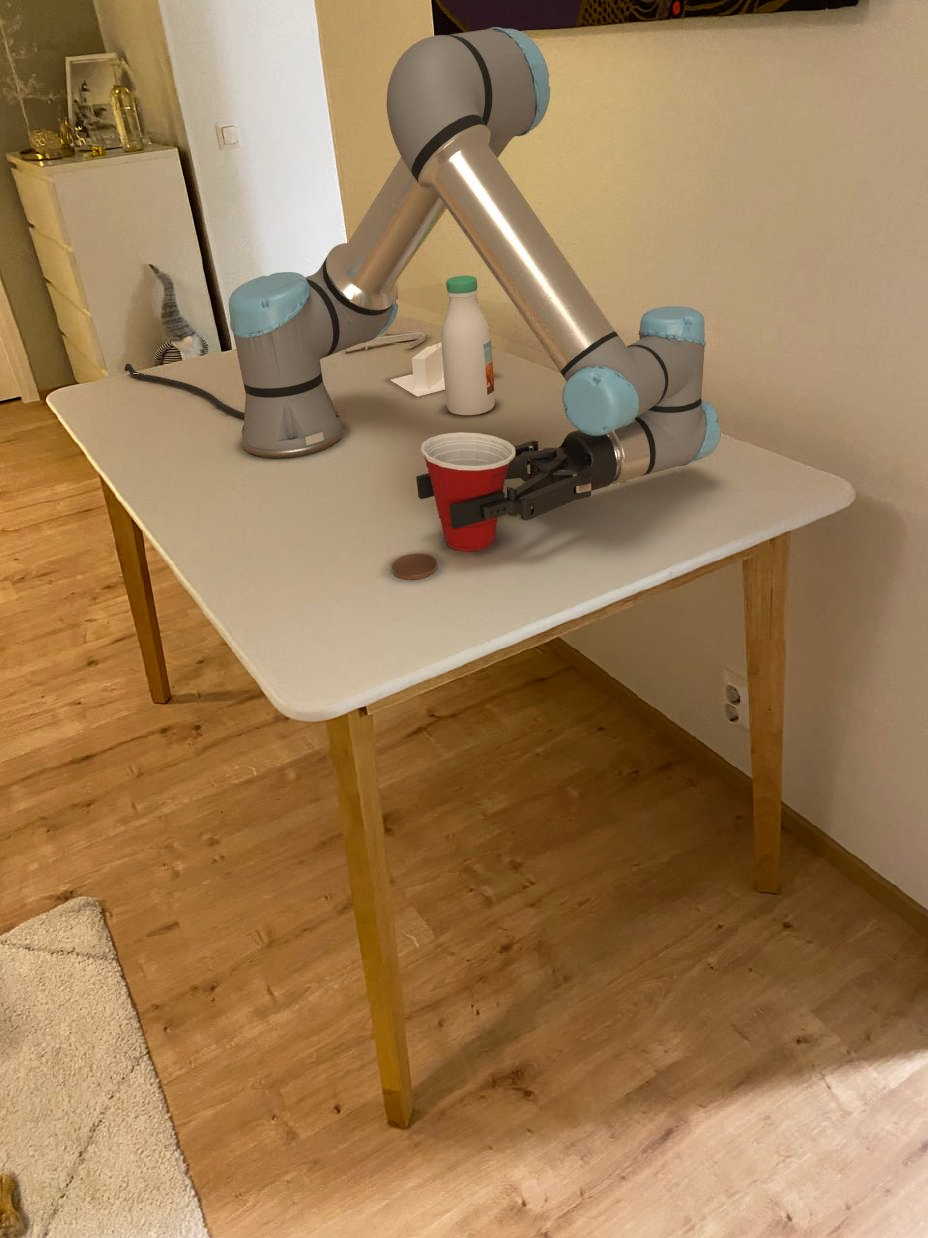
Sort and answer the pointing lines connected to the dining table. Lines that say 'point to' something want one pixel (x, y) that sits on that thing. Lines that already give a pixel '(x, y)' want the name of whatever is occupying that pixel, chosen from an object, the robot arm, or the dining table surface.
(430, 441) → the plastic cup
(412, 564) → the brown round coaster
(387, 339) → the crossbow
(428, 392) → the napkin holder
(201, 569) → the dining table surface
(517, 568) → the dining table surface
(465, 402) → the milk bottle
